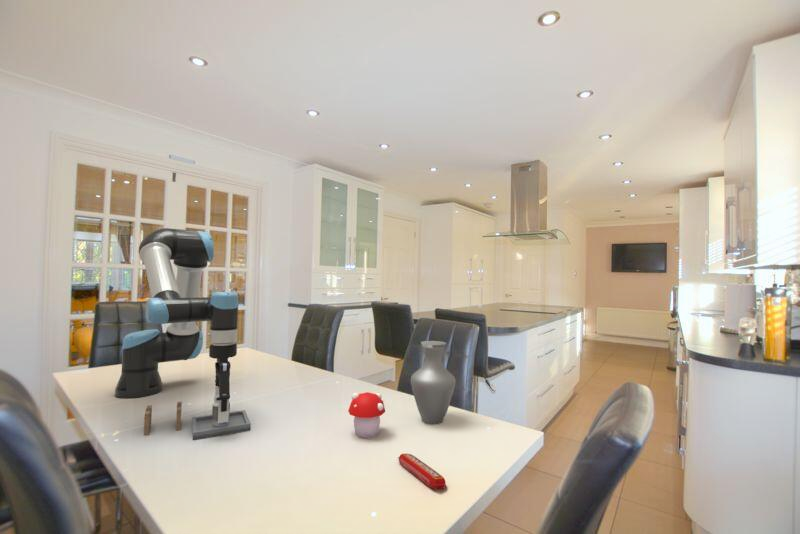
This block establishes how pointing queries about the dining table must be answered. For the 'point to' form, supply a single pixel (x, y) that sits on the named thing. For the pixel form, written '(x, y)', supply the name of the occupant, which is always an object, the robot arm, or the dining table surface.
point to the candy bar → (422, 471)
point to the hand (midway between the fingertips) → (221, 414)
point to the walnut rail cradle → (149, 415)
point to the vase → (433, 384)
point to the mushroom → (366, 413)
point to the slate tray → (205, 428)
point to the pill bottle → (215, 413)
